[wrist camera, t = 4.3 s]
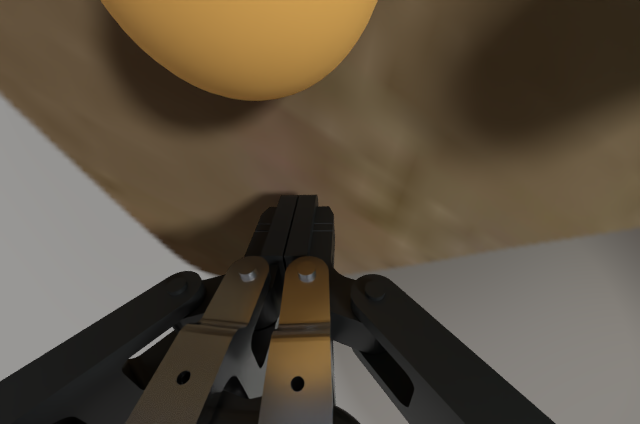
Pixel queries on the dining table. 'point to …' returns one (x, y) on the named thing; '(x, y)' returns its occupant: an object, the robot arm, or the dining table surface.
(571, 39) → the dining table surface
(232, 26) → the ball
